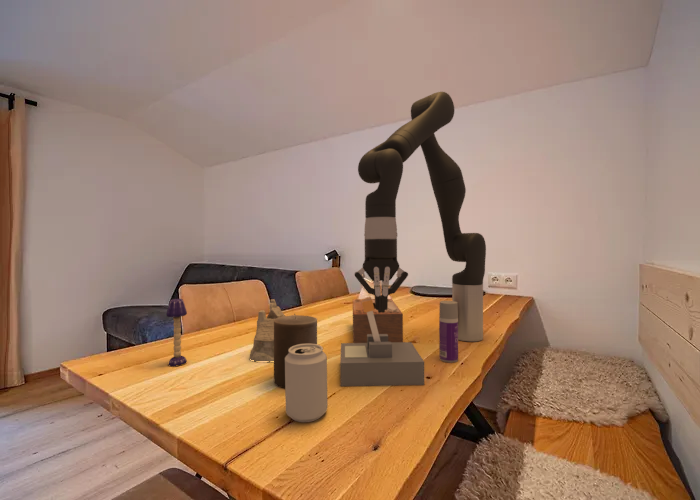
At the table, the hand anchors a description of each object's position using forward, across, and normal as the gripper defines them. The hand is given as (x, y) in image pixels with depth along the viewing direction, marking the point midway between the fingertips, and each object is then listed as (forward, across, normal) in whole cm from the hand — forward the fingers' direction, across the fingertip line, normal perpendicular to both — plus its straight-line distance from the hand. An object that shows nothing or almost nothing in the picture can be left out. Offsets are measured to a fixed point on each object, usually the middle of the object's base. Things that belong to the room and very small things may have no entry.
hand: (381, 311), depth 78 cm
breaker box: (+14, 0, 0) cm, 15 cm away
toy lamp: (+15, +52, -8) cm, 54 cm away
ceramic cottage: (+15, +26, -16) cm, 34 cm away
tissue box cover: (+15, -2, -32) cm, 36 cm away
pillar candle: (+15, +20, +3) cm, 25 cm away
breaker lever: (+8, 0, 0) cm, 9 cm away
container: (+15, -18, -8) cm, 25 cm away
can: (+15, +16, +18) cm, 28 cm away
